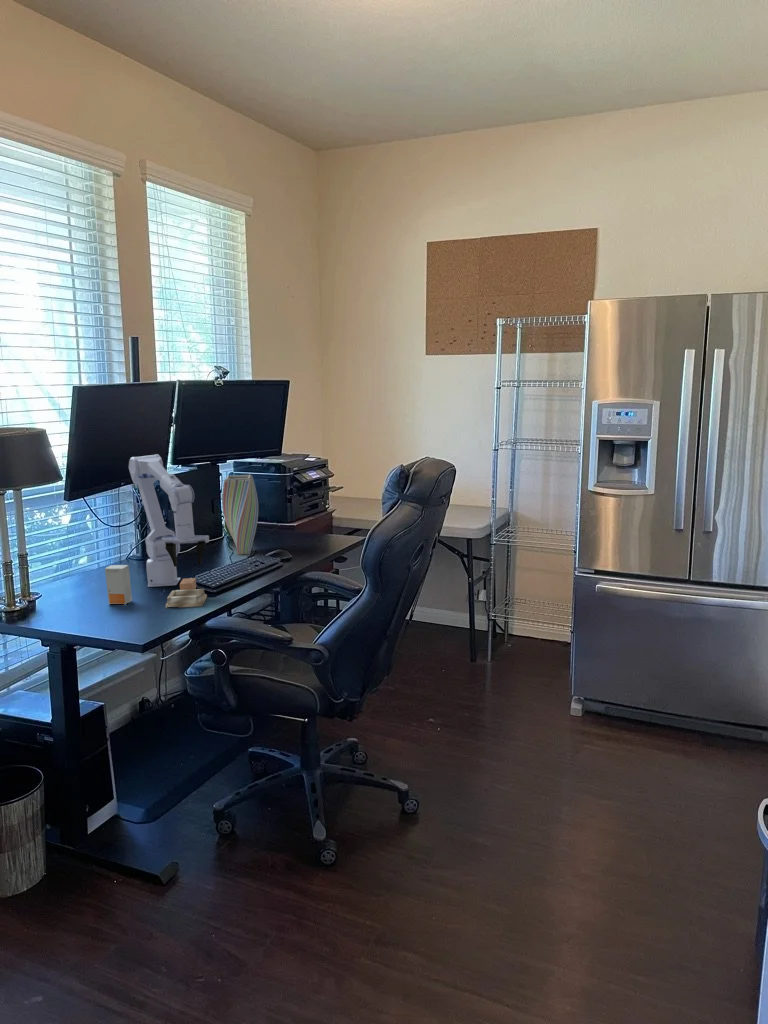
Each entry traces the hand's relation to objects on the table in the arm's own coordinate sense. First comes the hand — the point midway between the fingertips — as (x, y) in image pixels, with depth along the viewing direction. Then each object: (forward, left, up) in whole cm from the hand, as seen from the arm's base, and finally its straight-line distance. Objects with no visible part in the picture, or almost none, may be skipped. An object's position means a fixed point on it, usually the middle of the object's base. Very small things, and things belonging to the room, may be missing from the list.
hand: (187, 565), depth 240 cm
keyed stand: (+1, -10, -10) cm, 14 cm away
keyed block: (0, -1, -10) cm, 10 cm away
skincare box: (-20, -7, -10) cm, 24 cm away
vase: (+12, +50, -10) cm, 53 cm away
